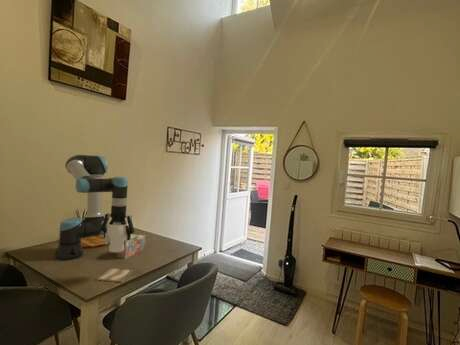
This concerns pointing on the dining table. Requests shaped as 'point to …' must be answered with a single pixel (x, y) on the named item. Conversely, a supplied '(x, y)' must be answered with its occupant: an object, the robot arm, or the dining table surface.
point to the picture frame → (114, 275)
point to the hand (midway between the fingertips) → (116, 244)
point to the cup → (116, 236)
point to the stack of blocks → (133, 246)
